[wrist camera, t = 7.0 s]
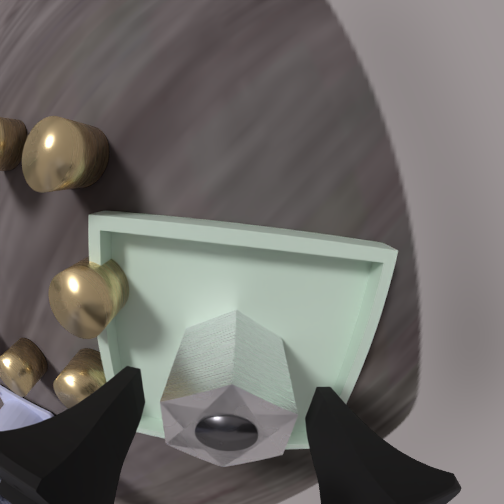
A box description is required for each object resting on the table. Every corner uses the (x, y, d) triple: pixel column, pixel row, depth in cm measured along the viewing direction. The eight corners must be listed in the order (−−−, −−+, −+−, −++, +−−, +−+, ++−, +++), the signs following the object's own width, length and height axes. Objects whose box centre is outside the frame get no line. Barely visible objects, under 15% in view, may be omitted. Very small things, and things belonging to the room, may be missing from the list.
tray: (319, 431, 15) (324, 447, 14) (125, 411, 15) (119, 426, 13) (382, 242, 12) (398, 250, 11) (104, 210, 11) (88, 214, 10)
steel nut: (268, 395, 14) (276, 470, 9) (186, 386, 13) (168, 460, 8) (286, 313, 12) (308, 389, 7) (187, 303, 12) (156, 374, 7)
